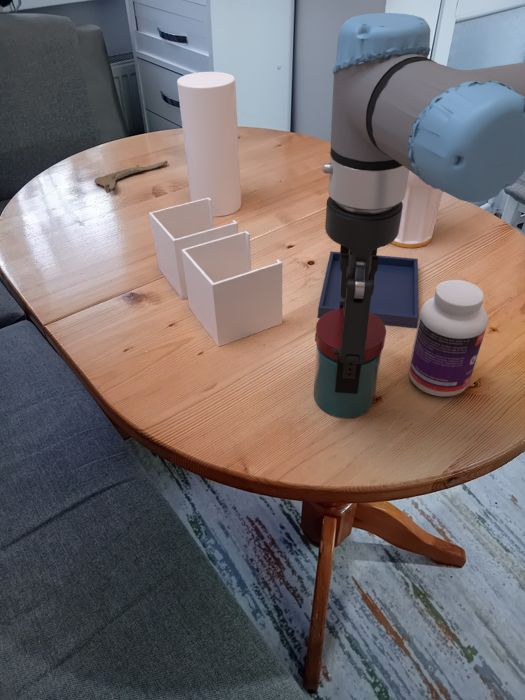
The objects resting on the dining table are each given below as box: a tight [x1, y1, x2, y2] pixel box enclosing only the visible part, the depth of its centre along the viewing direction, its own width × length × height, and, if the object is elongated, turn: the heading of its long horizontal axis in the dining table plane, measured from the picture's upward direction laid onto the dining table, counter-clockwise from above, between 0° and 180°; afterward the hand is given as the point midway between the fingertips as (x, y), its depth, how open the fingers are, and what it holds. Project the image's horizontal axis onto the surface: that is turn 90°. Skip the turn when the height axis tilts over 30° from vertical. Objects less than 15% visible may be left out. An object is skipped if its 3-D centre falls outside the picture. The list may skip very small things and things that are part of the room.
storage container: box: [148, 197, 283, 348], centre depth 87 cm, size 25×11×11 cm, turn 29°
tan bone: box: [93, 160, 169, 193], centre depth 128 cm, size 9×20×2 cm, turn 149°
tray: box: [317, 251, 420, 329], centre depth 89 cm, size 17×15×2 cm
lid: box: [314, 308, 387, 362], centre depth 65 cm, size 8×8×2 cm
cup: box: [390, 170, 444, 249], centre depth 98 cm, size 11×11×17 cm
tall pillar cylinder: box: [176, 71, 242, 218], centre depth 107 cm, size 11×11×25 cm
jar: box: [313, 343, 383, 419], centre depth 68 cm, size 8×8×11 cm
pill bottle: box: [408, 279, 489, 397], centre depth 69 cm, size 8×8×14 cm
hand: (346, 365), depth 68 cm, fingers closed on lid, 8 cm apart
